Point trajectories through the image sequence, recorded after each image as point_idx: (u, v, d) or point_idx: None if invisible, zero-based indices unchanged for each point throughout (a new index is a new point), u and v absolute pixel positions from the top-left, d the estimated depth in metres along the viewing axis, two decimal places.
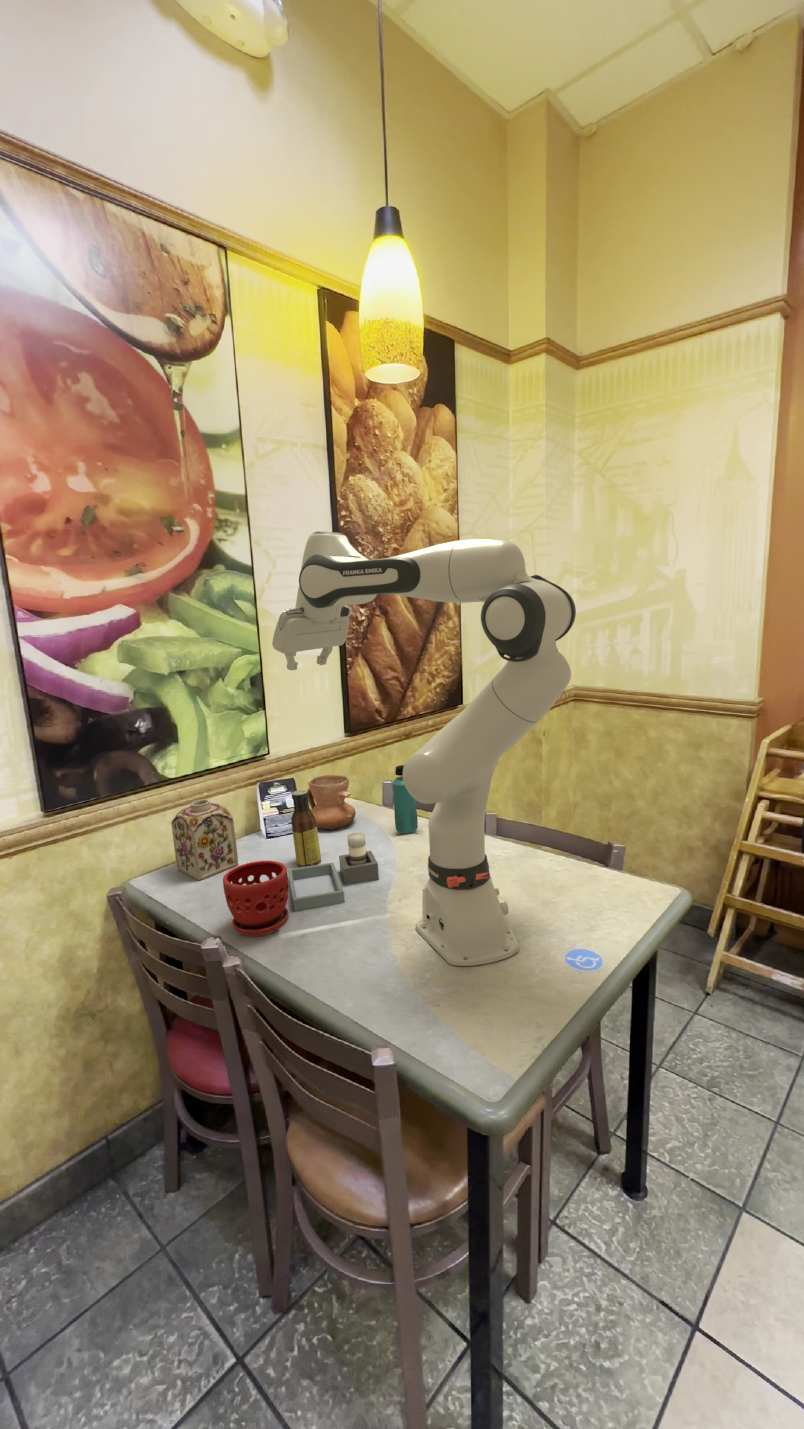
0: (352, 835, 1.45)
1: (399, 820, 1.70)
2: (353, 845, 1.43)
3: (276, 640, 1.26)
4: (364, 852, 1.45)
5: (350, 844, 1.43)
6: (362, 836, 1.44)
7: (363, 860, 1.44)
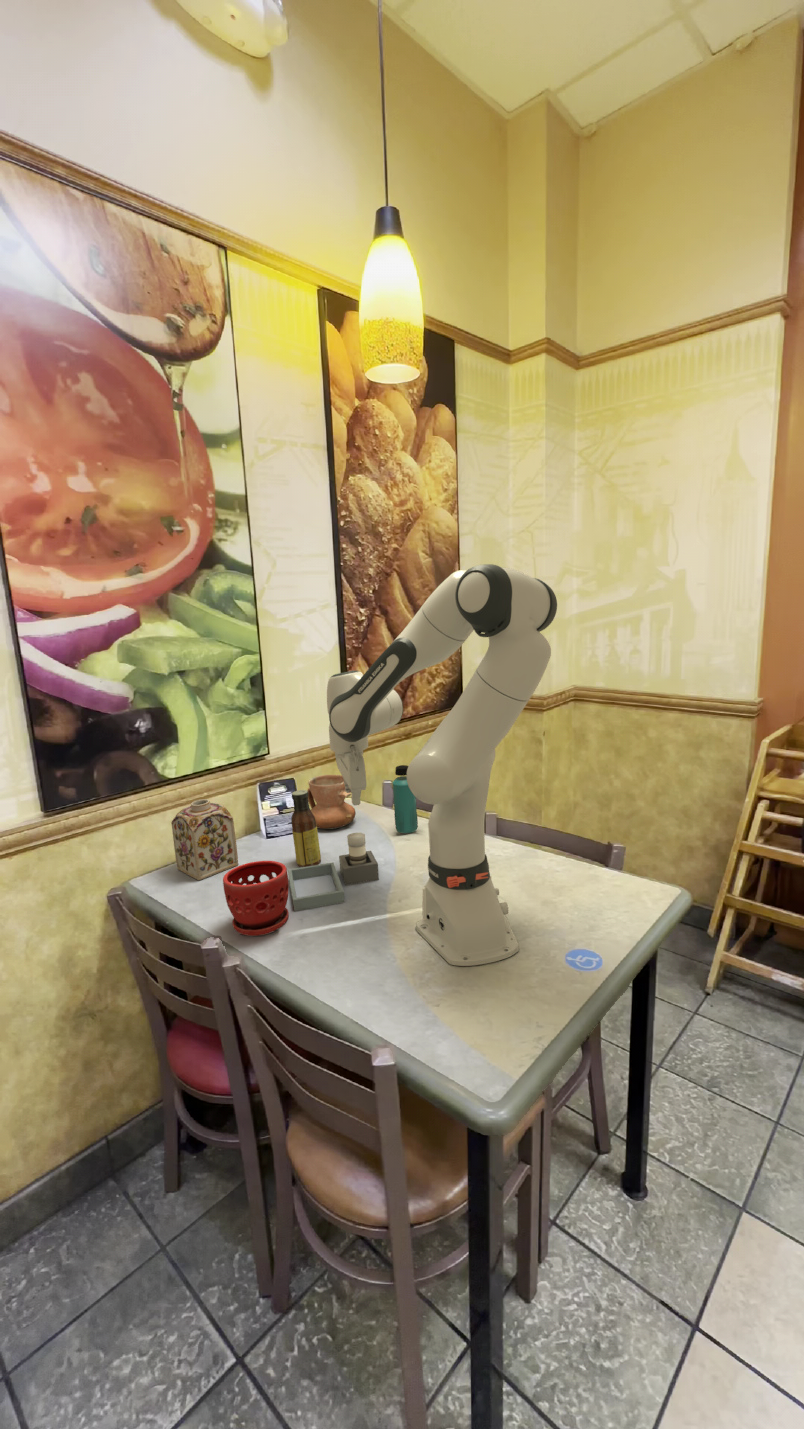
0: (352, 835, 1.45)
1: (399, 820, 1.70)
2: (353, 845, 1.43)
3: (356, 781, 1.32)
4: (364, 852, 1.45)
5: (350, 844, 1.43)
6: (362, 836, 1.44)
7: (363, 860, 1.44)
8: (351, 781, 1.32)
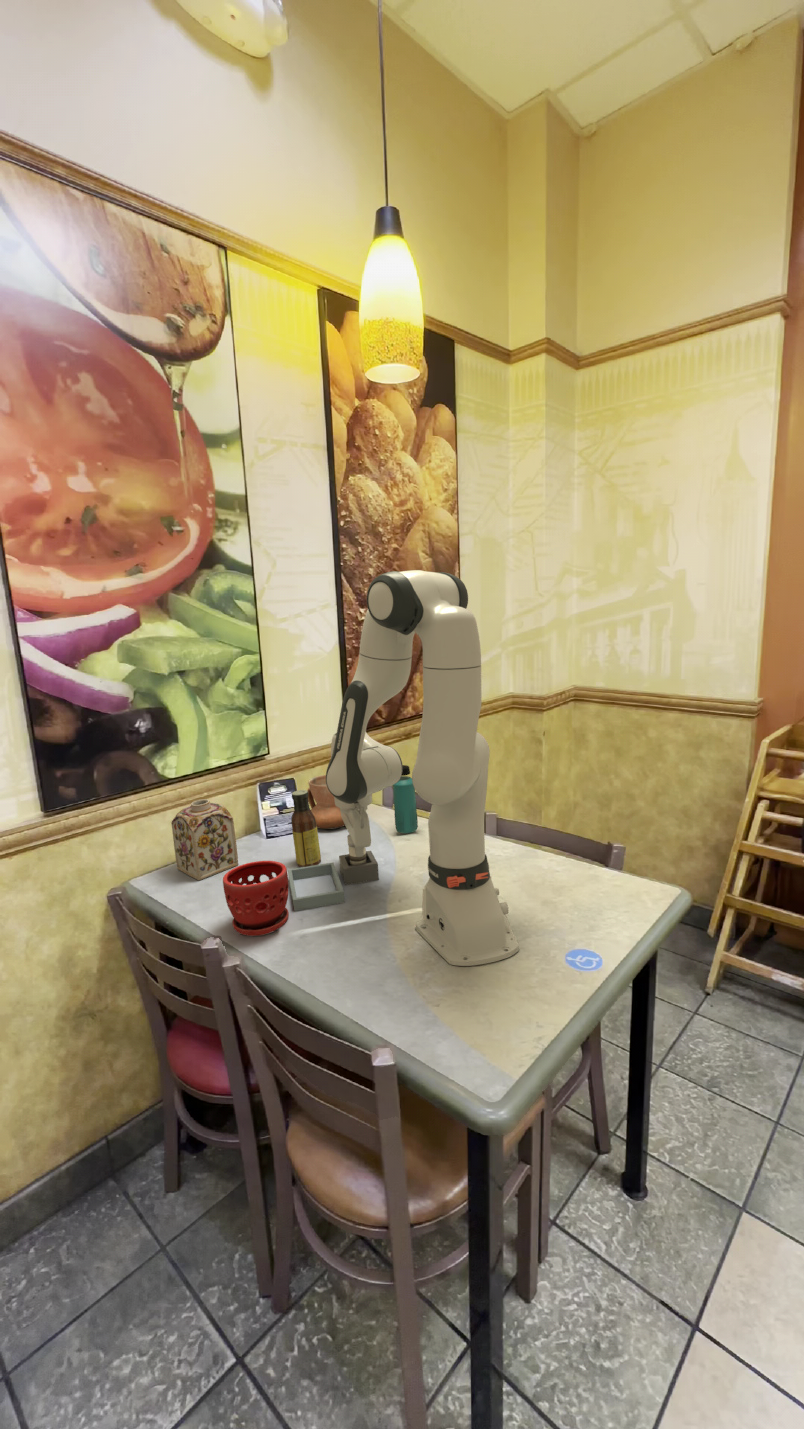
0: None
1: (399, 820, 1.70)
2: (353, 845, 1.43)
3: (361, 839, 1.34)
4: (364, 852, 1.44)
5: (350, 844, 1.43)
6: None
7: (363, 860, 1.44)
8: (356, 839, 1.34)
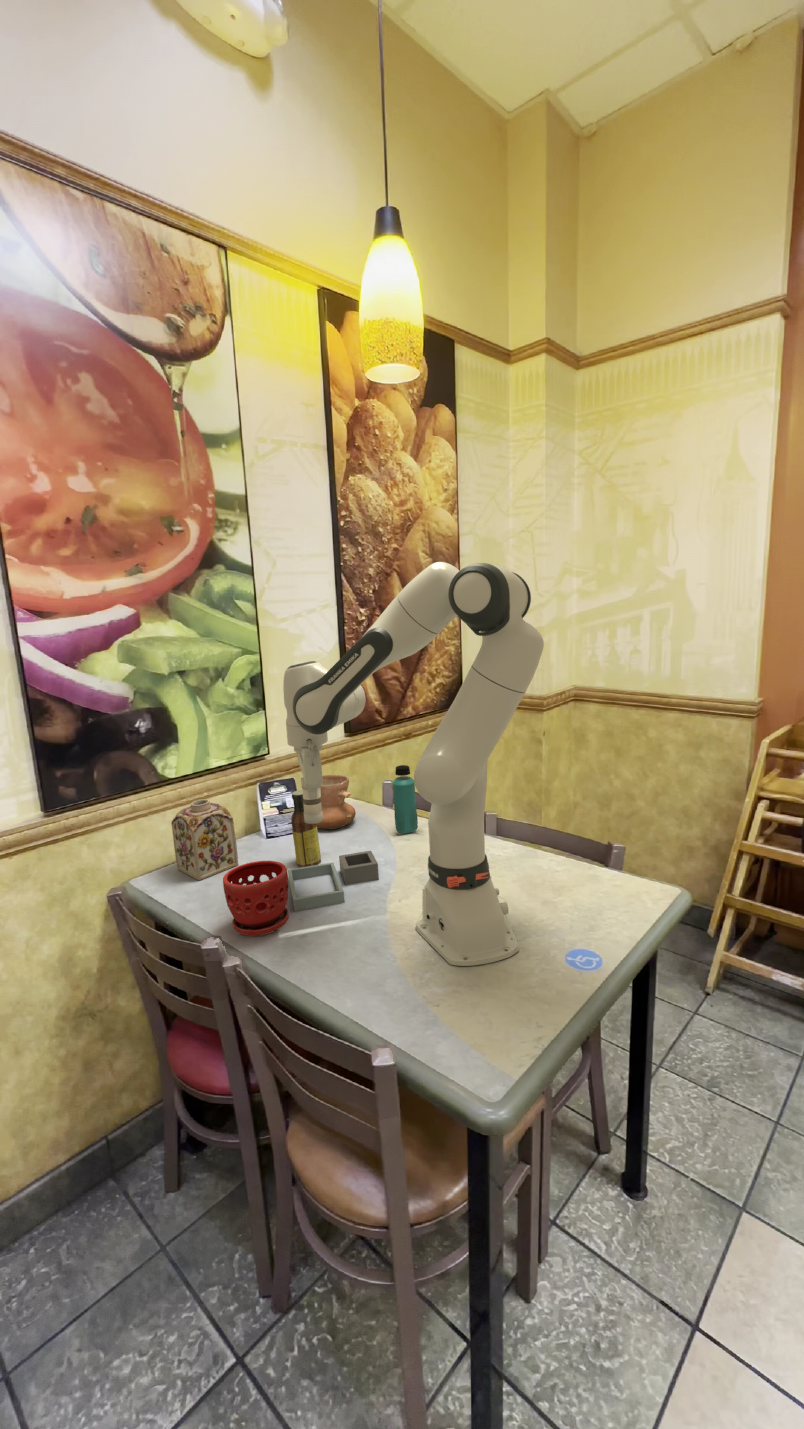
0: None
1: (399, 820, 1.70)
2: (306, 787, 1.35)
3: (311, 777, 1.26)
4: (318, 795, 1.36)
5: (303, 786, 1.35)
6: None
7: (318, 804, 1.36)
8: (306, 777, 1.26)
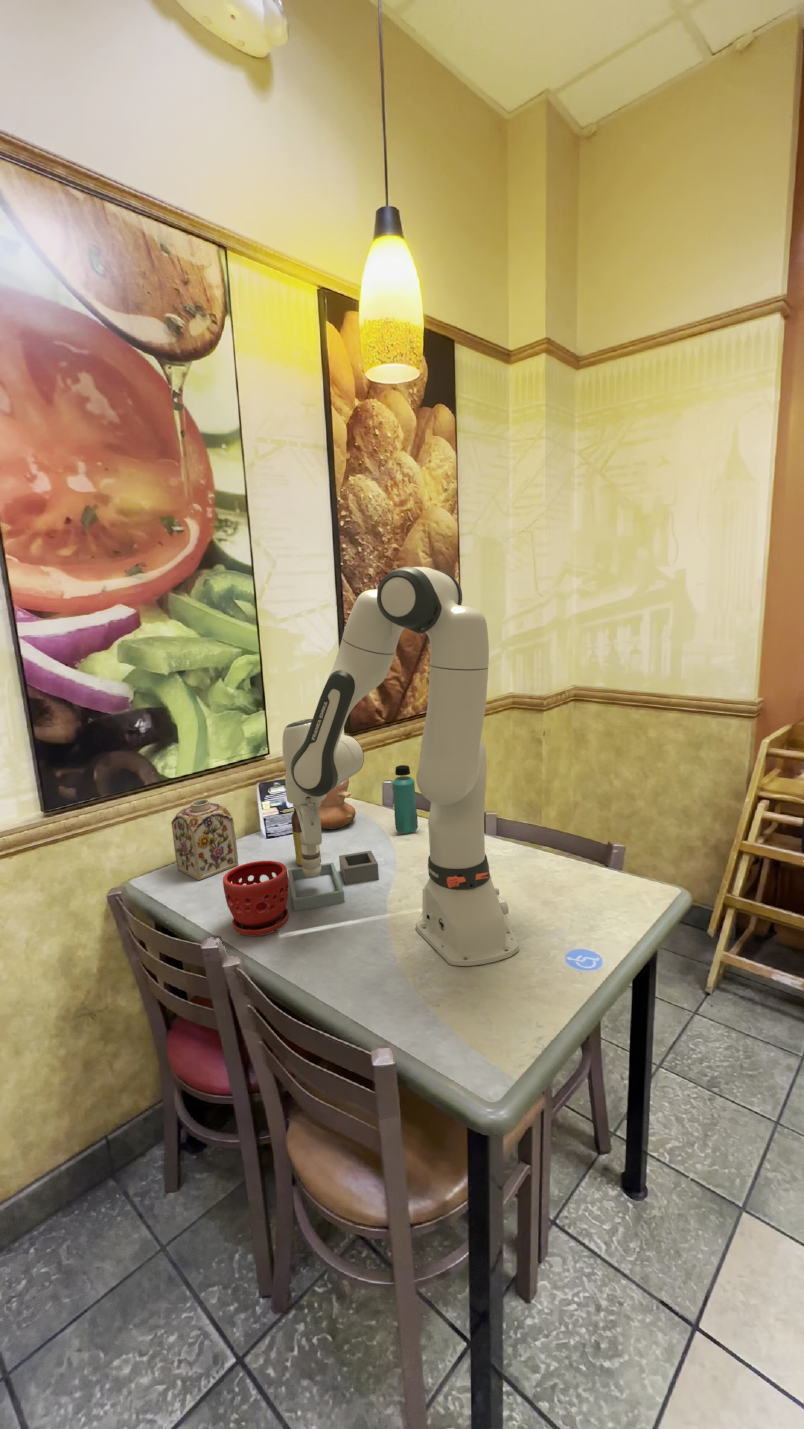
0: None
1: (399, 820, 1.70)
2: None
3: (311, 836, 1.27)
4: (317, 850, 1.37)
5: (302, 841, 1.36)
6: None
7: (316, 859, 1.37)
8: (305, 836, 1.27)
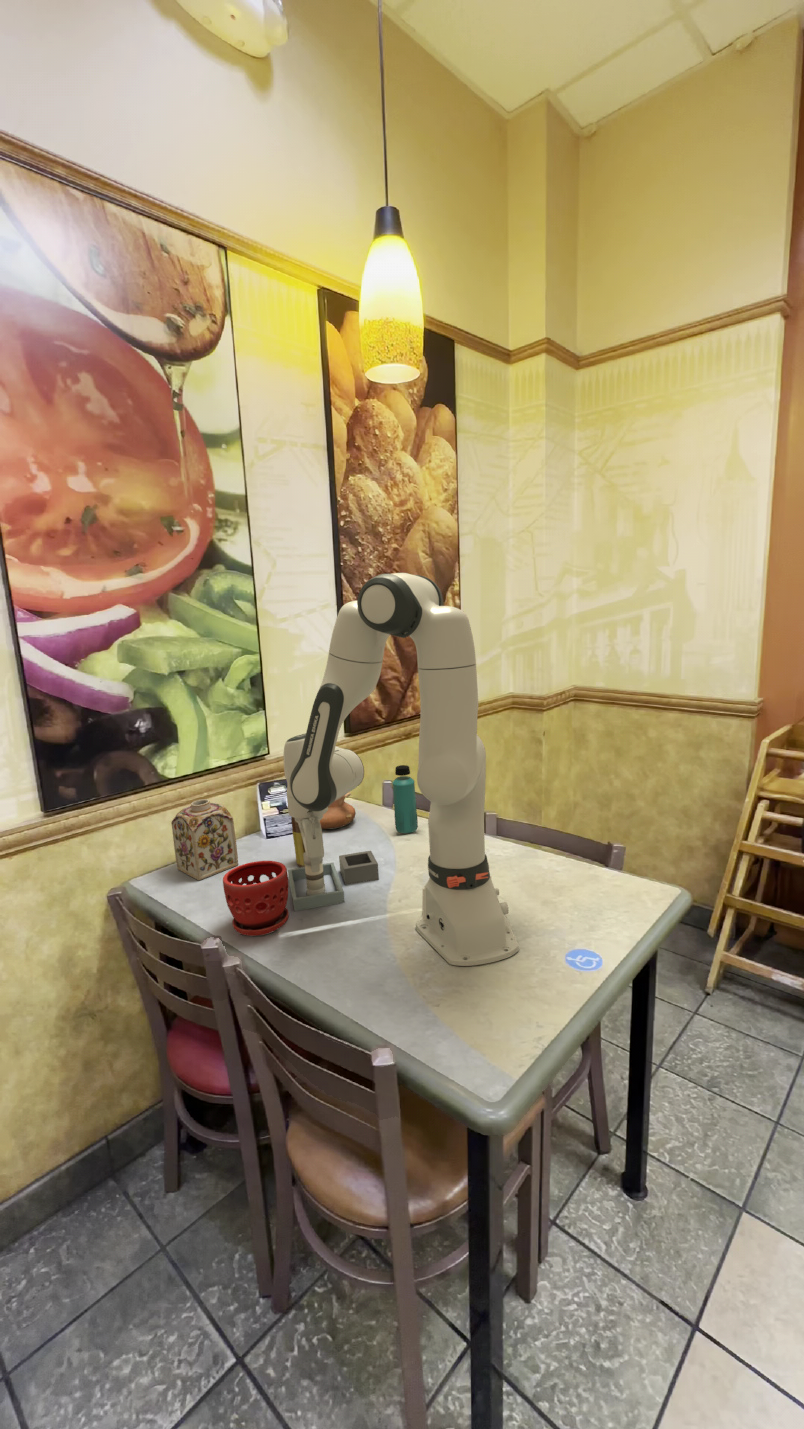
0: None
1: (399, 820, 1.70)
2: (309, 863, 1.35)
3: (313, 850, 1.28)
4: (321, 870, 1.36)
5: (306, 862, 1.35)
6: None
7: (320, 879, 1.36)
8: (308, 850, 1.28)
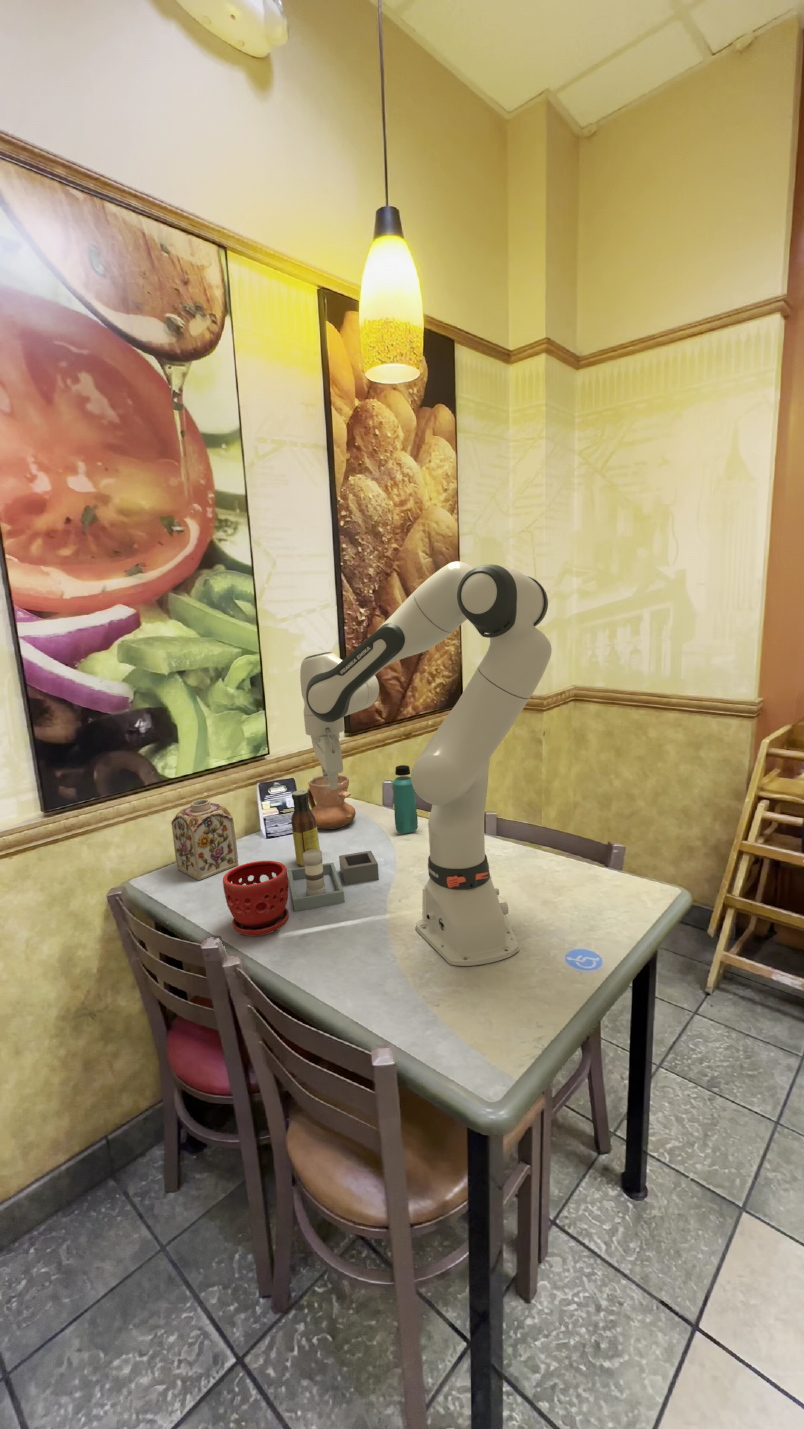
0: (308, 852, 1.37)
1: (399, 820, 1.70)
2: (309, 863, 1.35)
3: (332, 764, 1.29)
4: (321, 870, 1.36)
5: (305, 862, 1.35)
6: (319, 854, 1.36)
7: (320, 879, 1.36)
8: (327, 764, 1.29)
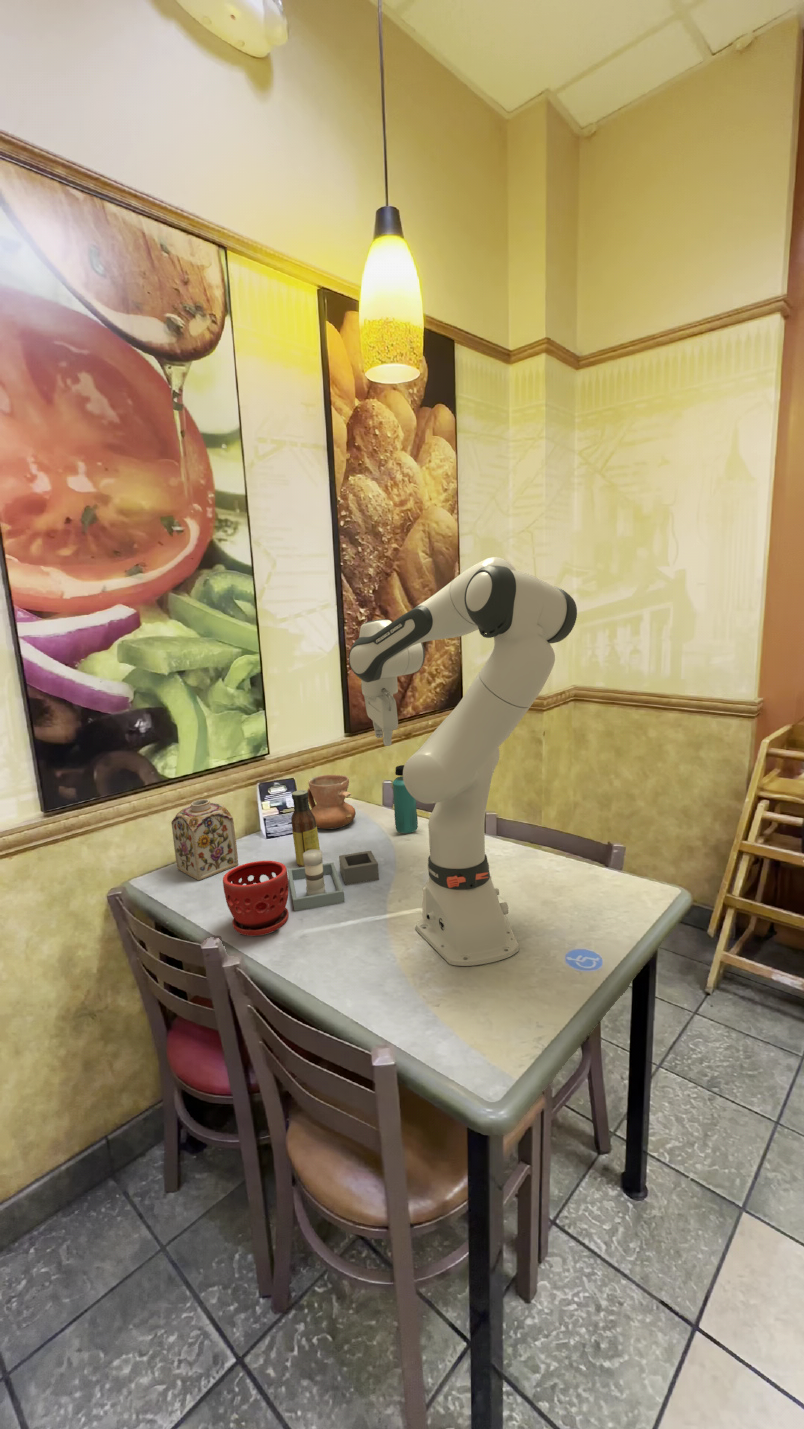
0: (308, 852, 1.37)
1: (399, 820, 1.70)
2: (309, 863, 1.35)
3: (389, 720, 1.41)
4: (321, 870, 1.36)
5: (306, 862, 1.35)
6: (319, 854, 1.36)
7: (320, 879, 1.36)
8: (384, 720, 1.41)
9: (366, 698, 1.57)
